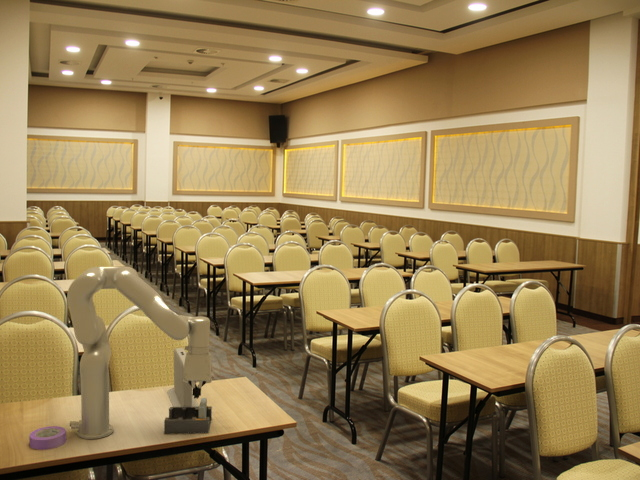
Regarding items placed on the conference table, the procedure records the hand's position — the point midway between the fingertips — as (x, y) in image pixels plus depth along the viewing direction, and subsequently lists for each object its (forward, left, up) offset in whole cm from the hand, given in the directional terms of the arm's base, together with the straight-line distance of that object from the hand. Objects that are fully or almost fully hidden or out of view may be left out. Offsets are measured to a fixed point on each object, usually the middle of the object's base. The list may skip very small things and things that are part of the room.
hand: (196, 397), depth 228 cm
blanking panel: (+2, 0, -10) cm, 10 cm away
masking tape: (-50, -13, -12) cm, 53 cm away
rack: (-3, 0, -11) cm, 12 cm away
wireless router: (-9, +29, -12) cm, 33 cm away
